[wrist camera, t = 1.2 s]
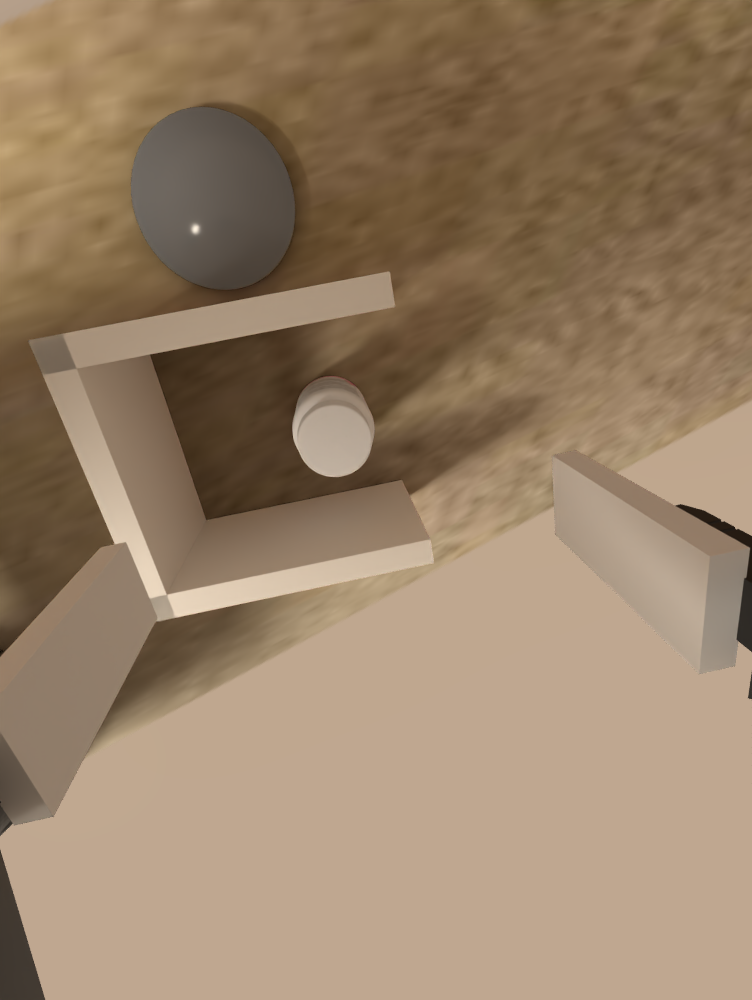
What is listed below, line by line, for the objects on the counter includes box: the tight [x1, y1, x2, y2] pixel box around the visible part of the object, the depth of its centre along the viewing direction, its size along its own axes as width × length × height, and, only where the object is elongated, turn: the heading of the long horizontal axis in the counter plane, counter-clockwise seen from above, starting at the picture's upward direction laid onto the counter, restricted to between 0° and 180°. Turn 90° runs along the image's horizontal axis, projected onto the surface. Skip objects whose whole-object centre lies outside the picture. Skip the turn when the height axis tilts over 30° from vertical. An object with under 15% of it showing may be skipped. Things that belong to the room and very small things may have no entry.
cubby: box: [28, 271, 434, 622], centre depth 29 cm, size 16×15×10 cm
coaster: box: [131, 107, 295, 290], centre depth 28 cm, size 9×9×1 cm
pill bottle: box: [292, 376, 375, 477], centre depth 30 cm, size 5×5×8 cm
